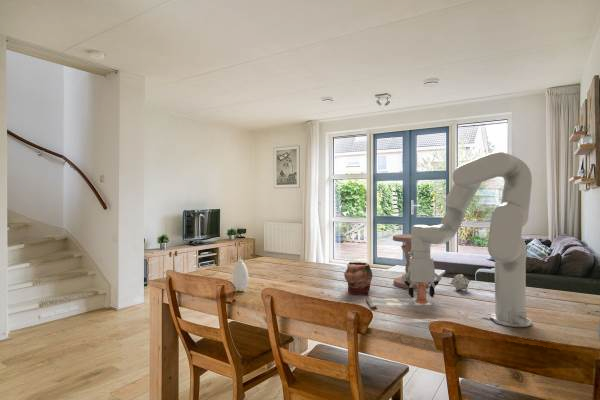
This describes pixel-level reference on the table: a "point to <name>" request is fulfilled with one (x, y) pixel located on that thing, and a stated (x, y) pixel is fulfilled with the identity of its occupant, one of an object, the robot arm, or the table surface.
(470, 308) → the table surface
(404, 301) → the board
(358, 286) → the decorative planter
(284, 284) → the table surface
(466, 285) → the game die
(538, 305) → the table surface
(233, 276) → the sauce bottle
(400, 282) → the wooden pedestal stand
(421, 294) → the pawn
